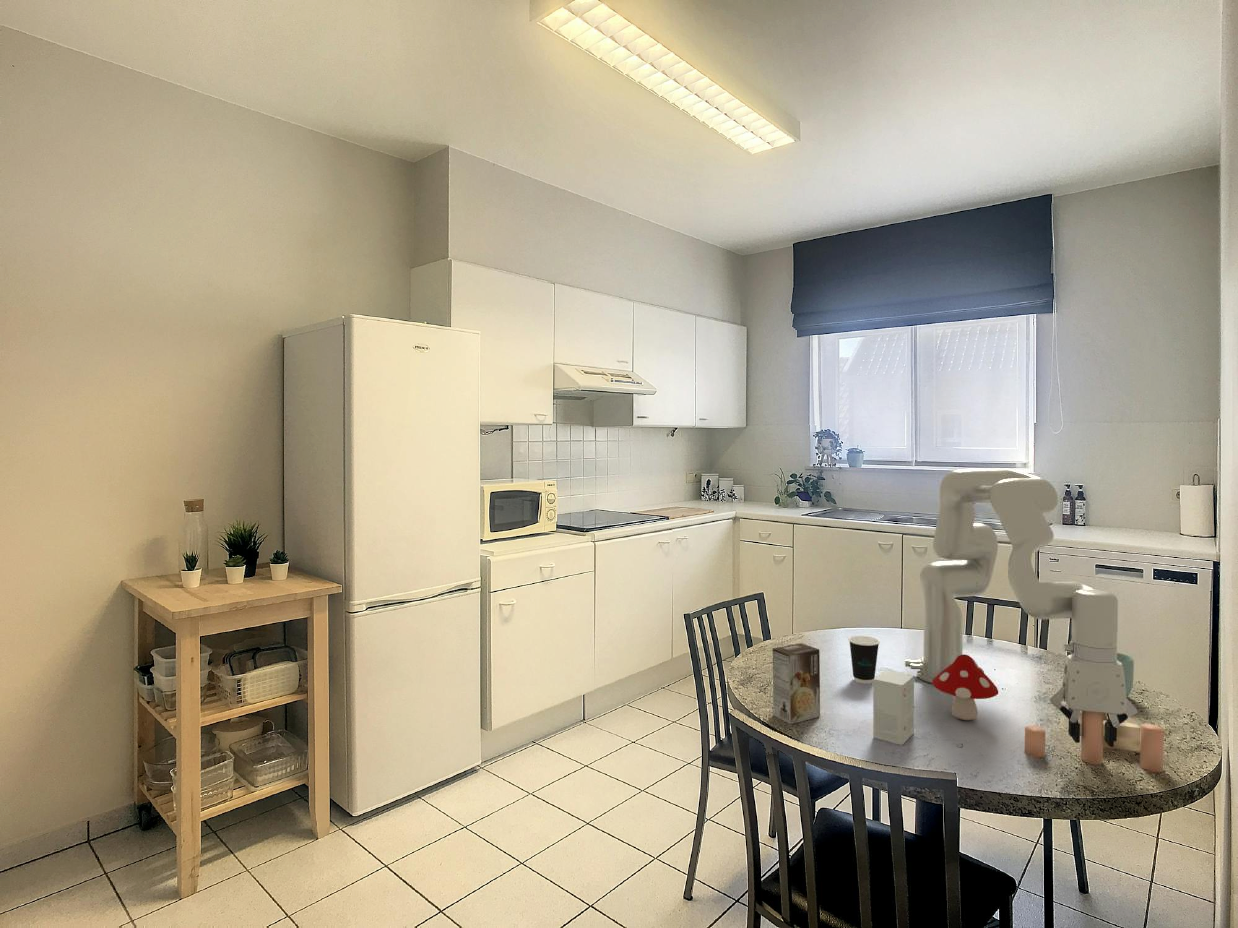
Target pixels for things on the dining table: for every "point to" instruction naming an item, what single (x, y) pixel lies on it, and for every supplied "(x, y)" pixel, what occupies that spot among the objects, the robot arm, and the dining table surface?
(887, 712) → the small box
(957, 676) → the decorative mushroom
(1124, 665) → the cup
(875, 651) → the dixie cup
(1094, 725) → the long pin
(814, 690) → the coffee box
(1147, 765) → the medium pin
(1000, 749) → the dining table surface
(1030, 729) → the short pin
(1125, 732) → the bore block
